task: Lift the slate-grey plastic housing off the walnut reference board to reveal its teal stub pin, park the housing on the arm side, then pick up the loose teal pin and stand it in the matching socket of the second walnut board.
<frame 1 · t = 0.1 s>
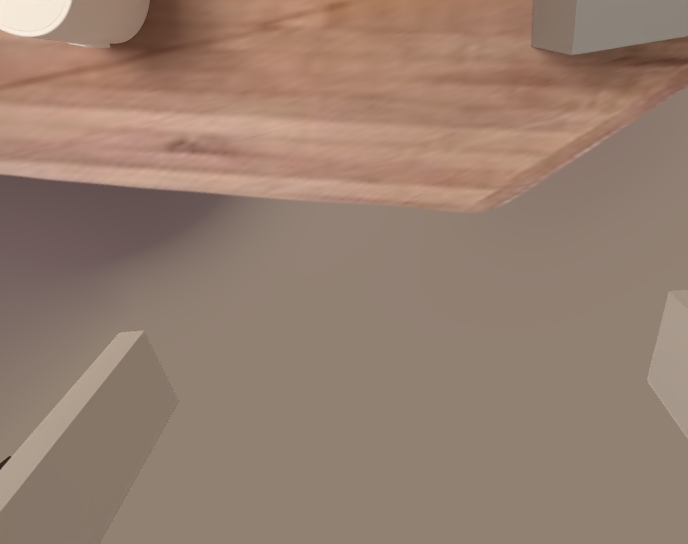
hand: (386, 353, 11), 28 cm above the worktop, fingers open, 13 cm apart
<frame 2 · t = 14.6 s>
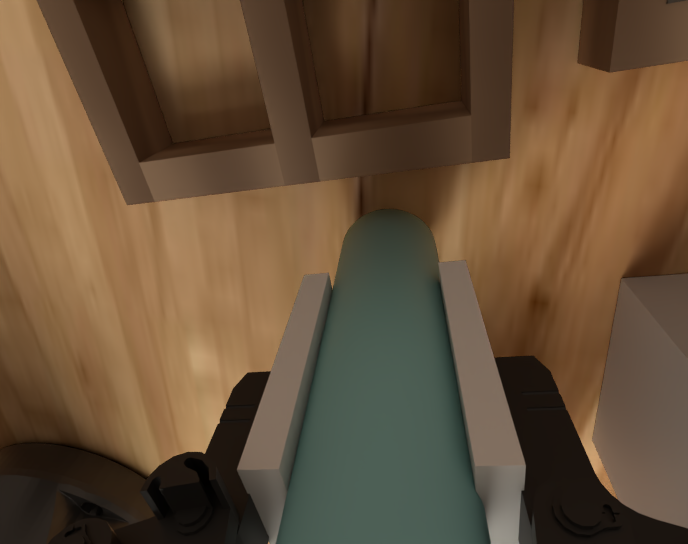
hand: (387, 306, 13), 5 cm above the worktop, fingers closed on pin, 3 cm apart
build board: (293, 50, 14), on the worktop
pin: (388, 252, 16), point 2 cm above the worktop, touching gripper
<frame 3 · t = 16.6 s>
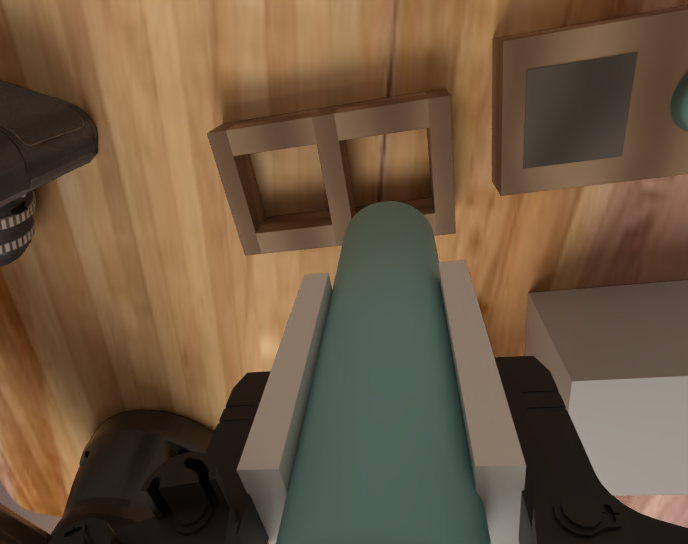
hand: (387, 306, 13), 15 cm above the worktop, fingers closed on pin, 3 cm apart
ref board: (619, 97, 23), on the worktop
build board: (339, 171, 26), on the worktop
pin: (388, 243, 17), point 11 cm above the worktop, touching gripper
cover: (637, 341, 31), on the worktop
when the fingers open (4 cm above the worktop, at t = 19.1 s): pin stays where it is, resting in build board.
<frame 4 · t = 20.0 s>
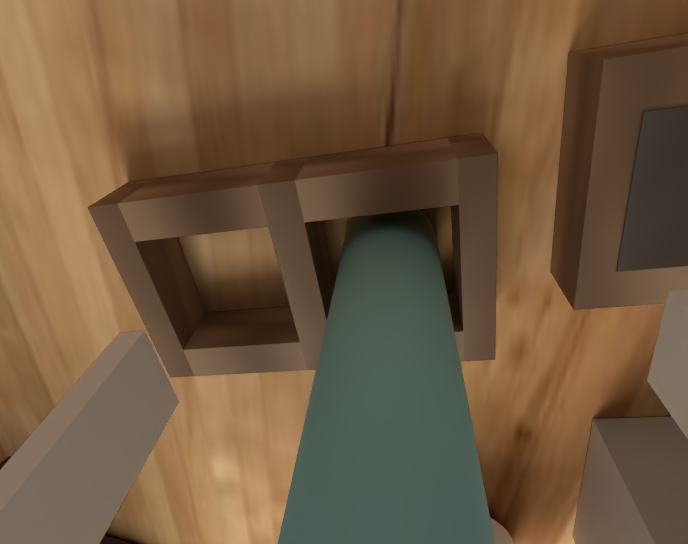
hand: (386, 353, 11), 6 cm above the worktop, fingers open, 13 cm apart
beverage can: (441, 532, 26), on the worktop
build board: (313, 253, 17), on the worktop
pin: (390, 244, 17), resting in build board
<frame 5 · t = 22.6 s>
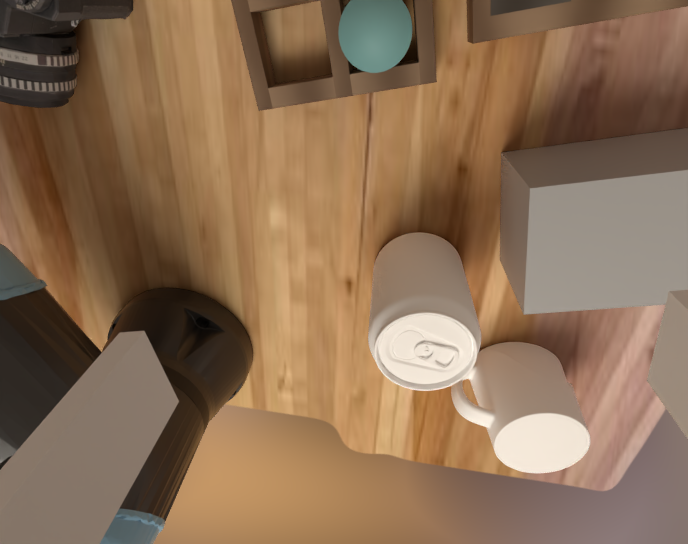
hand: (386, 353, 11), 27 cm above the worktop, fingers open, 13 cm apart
beverage can: (416, 267, 41), on the worktop
mug: (503, 366, 46), on the worktop
camera: (43, 10, 33), on the worktop
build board: (339, 36, 31), on the worktop
pin: (381, 27, 31), resting in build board
cover: (597, 198, 35), on the worktop
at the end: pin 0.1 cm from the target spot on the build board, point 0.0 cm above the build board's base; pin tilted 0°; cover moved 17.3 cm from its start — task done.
